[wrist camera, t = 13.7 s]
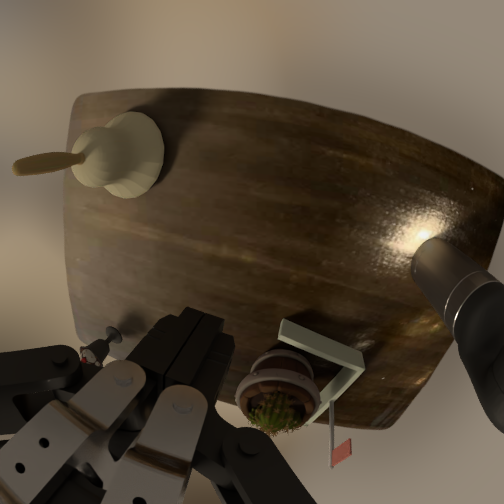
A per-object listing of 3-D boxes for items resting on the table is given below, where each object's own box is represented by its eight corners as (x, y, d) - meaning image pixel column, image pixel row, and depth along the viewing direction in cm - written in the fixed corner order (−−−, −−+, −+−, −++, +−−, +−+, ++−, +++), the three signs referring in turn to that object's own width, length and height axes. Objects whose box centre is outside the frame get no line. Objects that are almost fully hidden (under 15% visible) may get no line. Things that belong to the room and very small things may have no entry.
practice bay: (240, 384, 55) (213, 462, 36) (283, 318, 47) (265, 410, 28) (307, 410, 54) (300, 487, 35) (361, 352, 47) (376, 441, 28)
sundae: (113, 320, 57) (74, 356, 43) (129, 343, 58) (94, 382, 44) (99, 326, 59) (62, 360, 45) (114, 348, 60) (81, 384, 46)
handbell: (150, 210, 46) (39, 261, 22) (93, 178, 46) (-14, 205, 23) (183, 127, 40) (64, 112, 17) (117, 103, 40) (4, 91, 17)
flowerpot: (313, 394, 52) (307, 472, 34) (243, 383, 55) (218, 458, 36) (329, 343, 47) (332, 431, 29) (248, 331, 50) (218, 414, 31)
